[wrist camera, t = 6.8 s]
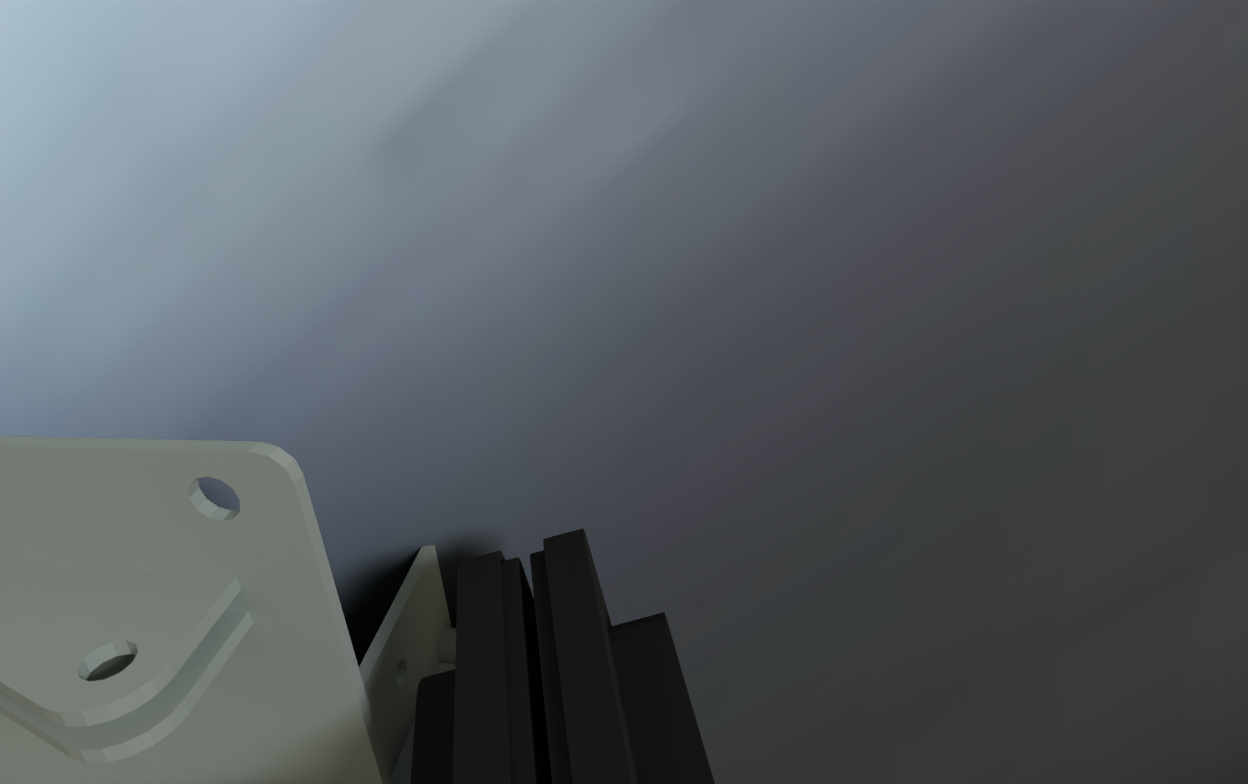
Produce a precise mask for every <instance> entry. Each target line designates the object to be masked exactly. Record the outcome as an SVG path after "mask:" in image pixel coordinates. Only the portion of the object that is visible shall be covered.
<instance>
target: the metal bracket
mask: <svg viewBox="0 0 1248 784" xmlns="http://www.w3.org/2000/svg"><path fill="white" fill-rule="evenodd" d="M202 477H210V478H214V479H218V480H221V481H222V482H224V483H225V484H227V485H228V486H230V487H231V488H232V489H233V490H234V492H235V493H236V495H237V496H238V498H239V500H240V509H235V510H229V509H225V508H221V507H218V506H216V505H215V504H213V503H212V502H211V501H209V500H208V499H206V497H205V495H204V494H203V492H202V491H201V489H200V488H199V478H202ZM455 662H456V628H452V627H451V622H450V617H449V612H448V607H447V603H446V598H445V593H444V588H443V583H442V579H441V574H440V569H439V564H438V559H437V555H436V550H435V545H430V546H423V547H421V549H420V551H419V553H418V555H417V557H416V559H415V561H414V563H413V565H412V566H411V568H410V570H409V572H408V574H407V576H406V578H405V580H404V582H403V584H402V586H401V588H400V590H399V591H398V593H397V595H396V597H395V599H394V601H393V603H392V605H391V607H390V609H389V611H388V613H387V614H386V616H385V618H384V620H383V622H382V624H381V626H380V628H379V630H378V632H377V634H376V636H375V638H374V639H373V641H372V643H371V645H370V647H369V649H368V651H367V653H366V655H365V657H364V659H363V661H362V662H361V664H360V666H359V667H358V663H357V660H356V656H355V653H354V649H353V646H352V642H351V639H350V635H349V632H348V628H347V625H346V621H345V618H344V614H343V611H342V607H341V604H340V600H339V597H338V593H337V590H336V586H335V583H334V579H333V576H332V572H331V569H330V565H329V562H328V558H327V555H326V551H325V548H324V544H323V541H322V537H321V534H320V530H319V527H318V523H317V520H316V516H315V513H314V509H313V506H312V502H311V499H310V495H309V492H308V488H307V485H306V481H305V478H304V474H303V472H302V471H301V469H300V467H299V465H298V464H297V462H296V460H295V459H294V458H293V457H292V456H291V455H289V454H288V453H287V452H285V451H284V450H283V449H281V448H280V447H278V446H275V445H271V444H267V443H263V442H254V441H209V440H164V439H119V438H74V437H29V436H0V784H410V781H411V767H412V754H413V740H414V727H415V713H416V699H417V691H418V685H419V682H420V680H421V678H424V677H427V676H431V675H435V674H438V673H442V672H446V671H450V670H453V669H455Z"/></svg>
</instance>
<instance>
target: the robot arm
mask: <svg viewBox="0 0 1248 784" xmlns="http://www.w3.org/2000/svg"><path fill="white" fill-rule="evenodd" d="M543 543H544V551H540V552H536V553H532V554H530V561H531V571H532V582H533V592H534V598H533V595H532V592H531V589H530V587H529V584H528V581H527V578H526V575H525V572H524V569H523V566H522V563H521V561H520V559H519V558H518V557H517V558H514V559H510V560H506V561H505V558H504V556H503V554H502V552H501V551H497V552H493V553H489V554H485V555H482V556H478V557H474V558H470V559H467V560H463V561H460V562H459V563H458V573H457V618H456V662H455V669H453V670H450V671H446V672H442V673H438V674H435V675H431V676H427V677H424V678H421V680H420V682H419V685H418V691H417V699H416V713H415V727H414V740H413V754H412V767H411V781H410V784H715V783H714V780H713V776H712V773H711V769H710V766H709V763H708V759H707V756H706V752H705V749H704V746H703V742H702V739H701V735H700V732H699V728H698V725H697V722H696V718H695V715H694V711H693V708H692V705H691V701H690V698H689V694H688V691H687V687H686V684H685V681H684V677H683V674H682V670H681V667H680V664H679V660H678V657H677V653H676V650H675V647H674V643H673V640H672V636H671V633H670V629H669V626H668V623H667V619H666V616H665V613H664V612H663V613H660V614H656V615H652V616H648V617H645V618H641V619H637V620H634V621H630V622H626V623H623V624H619V625H615V626H612V625H611V622H610V618H609V615H608V611H607V608H606V604H605V601H604V597H603V594H602V590H601V587H600V583H599V580H598V576H597V573H596V569H595V566H594V562H593V559H592V555H591V552H590V548H589V545H588V541H587V538H586V534H585V531H584V529H580V530H576V531H572V532H568V533H565V534H561V535H557V536H553V537H549V538H546V539H544V541H543Z"/></svg>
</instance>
